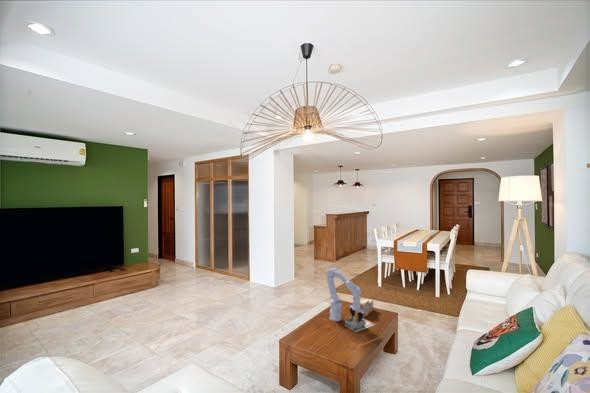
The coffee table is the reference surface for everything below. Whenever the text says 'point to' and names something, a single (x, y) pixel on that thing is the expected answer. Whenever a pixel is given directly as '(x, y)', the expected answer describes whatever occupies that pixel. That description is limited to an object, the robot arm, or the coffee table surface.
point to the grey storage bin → (352, 324)
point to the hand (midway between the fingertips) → (356, 319)
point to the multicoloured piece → (366, 306)
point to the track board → (361, 326)
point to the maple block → (356, 319)
